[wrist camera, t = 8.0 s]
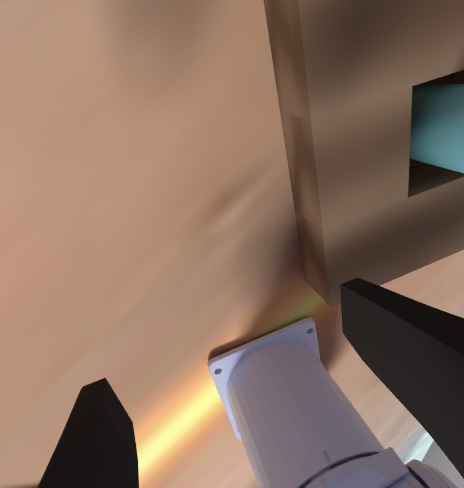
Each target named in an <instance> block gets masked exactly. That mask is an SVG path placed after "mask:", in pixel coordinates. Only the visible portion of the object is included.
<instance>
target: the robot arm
mask: <svg viewBox="0 0 464 488" xmlns="http://www.w3.org/2000/svg"><path fill="white" fill-rule="evenodd" d="M340 291H341V309H342V327H343V333H344V335H345V336H346V338H347V339H348V341H349V342H350V344H351V345H352V346H353V348H354V349H355V351H356V352H357V353H358V355H359V356H360V357H361V359H362V360H363V361H364V362H365V364H366V365H367V366H368V367H369V368H370V369H371V370H372V371H373V372H374V374H375V375H376V376H377V377H378V378H379V379H380V380H381V381H382V382H383V383H384V385H385V386H386V387H387V388H388V389H389V390H390V391H391V392H392V393H393V394H394V395H395V397H396V398H397V399H398V400H399V401H400V402H401V403H402V404H403V405H404V406H405V407H406V409H407V410H408V411H409V412H410V413H411V414H412V415H413V416H414V417H415V418H416V419H417V420H418V422H419V423H420V424H421V425H422V426H423V427H424V429H425V430H426V431H427V432H428V433H429V434H430V436H431V437H432V438H433V439H434V440H435V442H436V443H437V444H438V446H439V447H440V448H441V450H442V451H443V452H444V453H445V455H446V456H447V457H448V459H449V460H450V461H451V462H452V464H453V465H454V466H455V468H456V469H457V470H458V472H459V473H460V474H461V476H462V477H463V478H464V318H461V317H458V316H455V315H453V314H450V313H447V312H444V311H442V310H439V309H436V308H433V307H431V306H428V305H426V304H423V303H420V302H418V301H415V300H413V299H410V298H408V297H405V296H403V295H400V294H398V293H395V292H393V291H390V290H388V289H385V288H383V287H380V286H378V285H376V284H373V283H371V282H368V281H365V280H363V279H360V278H355V279H353V280H350V281H348V282H345V283H343V284H340ZM308 329H309V330H308ZM208 367H209V370H210V373H211V375H212V377H213V380H214V382H215V385H216V387H217V390H218V392H219V395H220V397H221V400H222V402H223V405H224V407H225V410H226V412H227V415H228V417H229V420H230V422H231V425H232V427H233V430H234V432H235V435H236V437H237V439H238V440H242V442H243V445H244V448H245V450H246V453H247V456H248V459H249V462H250V464H251V467H252V470H253V473H254V476H255V478H256V481H257V484H258V487H259V488H457V487H456V485H455V484H454V483H452V481H451V480H449V479H448V478H447V477H446V476H445V475H444V474H443V473H442V472H440V471H439V470H438V469H436V468H435V467H433V466H430V465H427V464H423V463H422V462H420V461H418V460H415V459H414V460H411V461H410V462H408V463H407V464H406V465H405V464H404V463H403V462H402V461H401V459H400V458H399V457H398V455H397V454H396V453H395V451H394V450H393V449H392V448H391V447H389V448H387V449H386V450H385V449H384V448H383V446H382V445H381V443H380V442H379V441H378V439H377V438H376V437H375V435H374V434H373V433H372V431H371V430H370V429H369V427H368V426H367V424H366V423H365V422H364V420H363V419H362V418H361V416H360V415H359V414H358V412H357V411H356V409H355V408H354V407H353V405H352V404H351V403H350V401H349V400H348V399H347V397H346V396H345V394H344V393H343V392H342V390H341V389H340V388H339V386H338V385H337V384H336V382H335V381H334V380H333V378H332V377H331V375H330V374H329V373H328V371H327V370H326V369H325V367H324V366H323V365H322V363H321V361H320V354H319V347H318V340H317V333H316V326H315V322H314V320H313V319H312V318H309V317H308V318H305V319H302V320H300V321H298V322H295V323H293V324H291V325H288V326H286V327H284V328H281V329H279V330H277V331H274V332H272V333H270V334H267V335H265V336H263V337H261V338H258V339H256V340H254V341H251V342H249V343H247V344H244V345H242V346H240V347H237V348H235V349H233V350H230V351H228V352H226V353H223V354H221V355H219V356H216V357H214V358H212V359H210V361H209V362H208ZM216 369H218V370H216ZM37 488H139V477H138V458H137V450H136V442H135V435H134V429H133V422H132V421H131V419H130V417H129V416H128V414H127V412H126V411H125V409H124V407H123V406H122V404H121V402H120V401H119V399H118V398H117V396H116V394H115V393H114V391H113V389H112V388H111V386H110V384H109V383H108V381H107V380H106V378H103V379H101V380H98V381H96V382H93V383H91V384H88V385H86V386H83V387H82V389H81V391H80V393H79V395H78V397H77V400H76V402H75V404H74V407H73V409H72V411H71V414H70V416H69V419H68V421H67V423H66V426H65V428H64V430H63V432H62V435H61V437H60V439H59V442H58V444H57V446H56V448H55V451H54V453H53V455H52V457H51V459H50V461H49V464H48V466H47V468H46V470H45V472H44V475H43V477H42V479H41V481H40V483H39V485H38V487H37Z"/></svg>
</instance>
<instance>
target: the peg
mask: <svg viewBox="0 0 464 488" xmlns="http://www.w3.org/2000/svg"><path fill="white" fill-rule="evenodd" d="M409 159H412V160H416V161H420V162H423V163H427V164H431V165H435V166H438V167H442V168H446V169H450V170H453V171H457V172H461V173H464V84H426V83H421V84H418V85H414V86H412V109H411V133H410V158H409Z"/></svg>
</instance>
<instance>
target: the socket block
mask: <svg viewBox="0 0 464 488" xmlns="http://www.w3.org/2000/svg"><path fill="white" fill-rule="evenodd" d="M264 5H265V12H266V18H267V25H268V32H269V39H270V45H271V52H272V59H273V65H274V72H275V79H276V86H277V92H278V99H279V106H280V112H281V119H282V126H283V133H284V139H285V146H286V153H287V159H288V166H289V173H290V180H291V186H292V193H293V200H294V206H295V213H296V220H297V227H298V233H299V240H300V247H301V253H302V260H303V267H304V274H305V280H306V281H307V282H308V283H309V284H310V285H311V287H312V288H313V289H314V290H315V291H316V292H317V293H318V294H319V295H320V296H321V297H322V298H323V299H324V300H325V301H326V302H327V303H328V304H329V305H330V306H333V305H335V304H338V303H340V302H341V291H340V284H343V283H345V282H348V281H350V280H353V279H355V278H360V279H363V280H365V281H368V282H371V283H373V284H376V285H378V286H380V285H382V284H384V283H387V282H389V281H391V280H394V279H396V278H398V277H401V276H403V275H405V274H408V273H410V272H412V271H415V270H417V269H419V268H422V267H424V266H426V265H429V264H431V263H433V262H436V261H438V260H440V259H443V258H445V257H447V256H450V255H452V254H454V253H457V252H459V251H461V250H464V173H461V172H457V171H453V170H450V169H446V168H442V167H438V166H435V165H431V164H427V163H425V164H422V165H419V166H416V167H414V168H411V169H409V158H410V133H411V109H412V86H414V85H418V84H421V83H424V82H427V81H430V80H433V79H436V78H439V77H443V76H446V75H449V74H452V73H453V84H464V0H264Z"/></svg>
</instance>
